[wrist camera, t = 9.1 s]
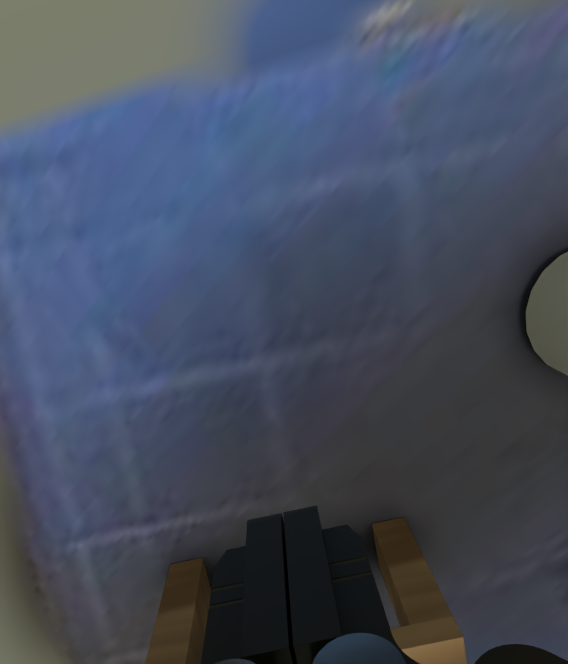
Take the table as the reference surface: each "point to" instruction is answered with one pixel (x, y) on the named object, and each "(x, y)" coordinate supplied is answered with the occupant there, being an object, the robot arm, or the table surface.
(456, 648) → the bridge
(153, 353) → the table surface
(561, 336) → the can
